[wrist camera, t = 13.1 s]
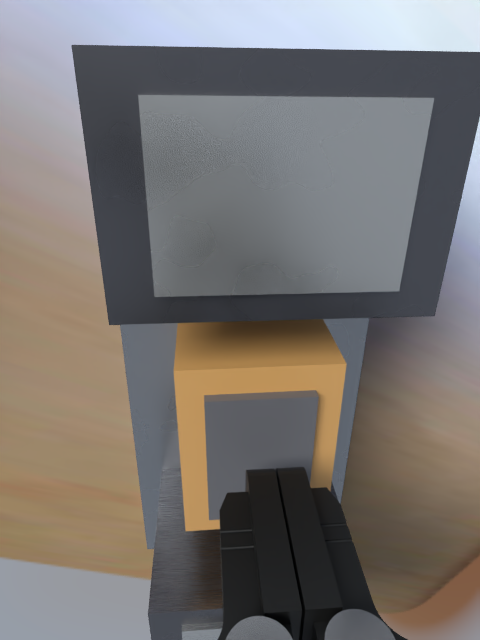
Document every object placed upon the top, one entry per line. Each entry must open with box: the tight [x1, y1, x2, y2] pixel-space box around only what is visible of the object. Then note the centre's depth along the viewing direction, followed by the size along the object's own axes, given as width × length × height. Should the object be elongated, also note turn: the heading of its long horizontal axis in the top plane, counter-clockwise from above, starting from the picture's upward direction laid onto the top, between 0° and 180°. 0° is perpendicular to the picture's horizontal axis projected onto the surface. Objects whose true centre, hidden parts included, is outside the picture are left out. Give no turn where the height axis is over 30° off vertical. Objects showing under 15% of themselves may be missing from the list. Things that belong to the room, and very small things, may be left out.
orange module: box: [174, 319, 347, 531], centre depth 15 cm, size 6×4×5 cm
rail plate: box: [72, 45, 480, 640], centre depth 16 cm, size 9×20×8 cm, turn 0°
